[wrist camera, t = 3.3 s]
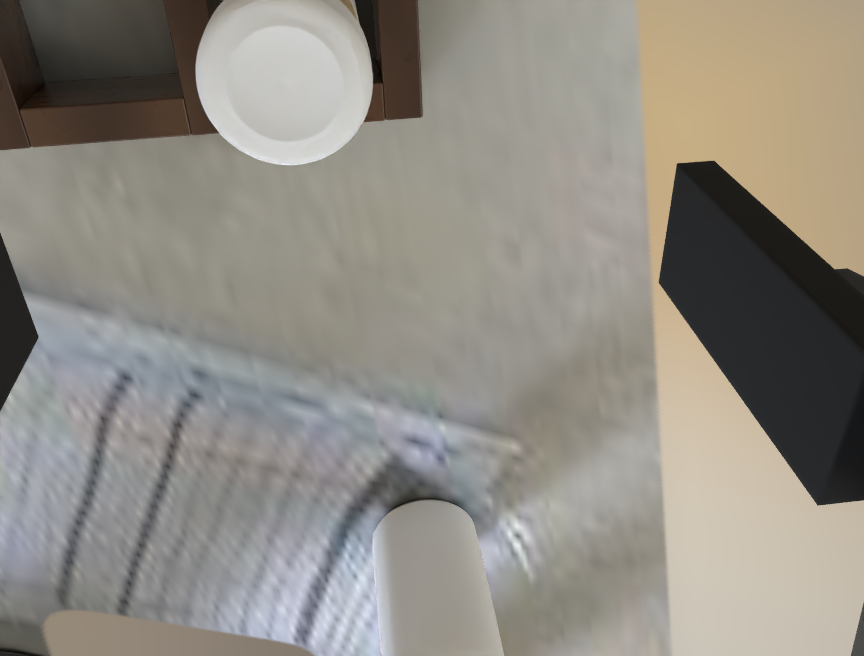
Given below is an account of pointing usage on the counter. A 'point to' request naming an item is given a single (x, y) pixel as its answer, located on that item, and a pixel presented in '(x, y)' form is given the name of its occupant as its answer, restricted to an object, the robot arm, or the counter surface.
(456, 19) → the counter surface
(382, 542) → the can
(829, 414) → the robot arm
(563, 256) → the counter surface
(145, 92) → the holder
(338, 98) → the sprinkles bottle
